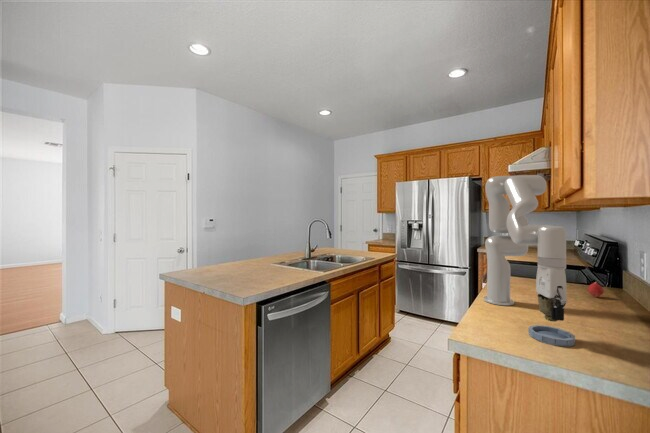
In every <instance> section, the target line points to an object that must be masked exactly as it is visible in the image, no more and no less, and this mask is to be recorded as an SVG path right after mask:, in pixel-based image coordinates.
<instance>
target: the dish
mask: <svg viewBox="0 0 650 433" xmlns="http://www.w3.org/2000/svg"><path fill="white" fill-rule="evenodd" d="M528 335H529V337H530V338H532V339H534V340H536V341H538V342H541V343H544V344H546V345H552V346H556V347H566V348H567V347H574V346H575V345H576V335H574V334H573V333H571V332H570V331H567V330H564V329H561V328H558V327H554V326H549V325H542V324H541V325H540V324H535V325H534V324H533V325H529V327H528Z"/></svg>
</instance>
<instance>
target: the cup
mask: <svg viewBox="0 0 650 433" xmlns="http://www.w3.org/2000/svg"><path fill="white" fill-rule="evenodd" d="M554 298H558V297H556V296H555V297H554ZM537 300H538V306H539V307H538V308H539V311H540V310H541V312H540V313H542V314H543V315H544V316H543V317H544V319H545V320H547V321H550V322H558V321H559V320H553V319H552V318H551V307H553V304H552V299H549V298H546V297H543V296H542V295H541V294H539V293H537ZM555 301H556V303H557V301H559V300H555ZM564 310H566V309H565V308H564Z"/></svg>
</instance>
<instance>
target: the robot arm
mask: <svg viewBox="0 0 650 433" xmlns="http://www.w3.org/2000/svg"><path fill="white" fill-rule="evenodd" d="M547 186H548V185H547V182H546V179H545V178H544V177H543V176H542V175H539V174H519V175H517V174H516V175H497V176H492V177H489V178H488V179H487V180H486V183H485V190H484V191H485V196H486V198H487V202H488V227H489V230H490V231H491V232H493V233H496V234H509V235H492V236H489V237H487V238H486V239H485V242H484V246H485V247H484V248H485V252H486V259H487V260H486V262H487V263H486V265H487V266H486V268H487V271H486V273H487V274H486V284H487V285H486V295H485V296H483V301H484V302H486V303H488V304H492V305H497V306H504V307H505V306H514V305H515V301H514V300H513V299H511V276H512V275H511V274H512V273H511V270H512V269H511V264H510V262H509V261H508V259H506V257H524V256H526V255H527V254H528V252H529V246H537V271H536V277H535V279H536V280H535V292H536V293H537V294H541V295H542V296H543V297H546V298H549V299H552V304H553V307H551V318H552V319H553V320H558V321H563V322H564V320H565V309H564V308H565V307H566V304H567V302H568V297H567V294H568V293H567V291H568V290H567V288H568V287H567V276H566V269H567V230H566V228H565V227H563V226H561V225H560V226H559V225H557V226H555V225H550V224H529V220H528V217H527V216H526V215H528V214H529V213H532V212H533V211H535V210H537V208H538V207H539V200H538V199H537V197H536V196H541V195H543V194H544V193H545V192H546V190H547ZM505 195H507V197H508V199H507V197H506V196H505ZM510 205H511V207H512V208H511V207H510ZM555 296H556V297H558V298H554V297H555ZM555 300H559V301H557V303H556V301H555ZM539 312H540V313H542V312H541V310H540V309H539Z"/></svg>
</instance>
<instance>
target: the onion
mask: <svg viewBox="0 0 650 433" xmlns="http://www.w3.org/2000/svg"><path fill="white" fill-rule="evenodd" d="M587 292H588V293H589V294H590V295H591V296H593V297H594V298H599V297H600V296H602V295H603V294H604V293H605V292H604V288H603V287H602V285H600V284H599V283H598V282H597V281H595V282H593V283H591V284H589V286H588V287H587Z"/></svg>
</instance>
